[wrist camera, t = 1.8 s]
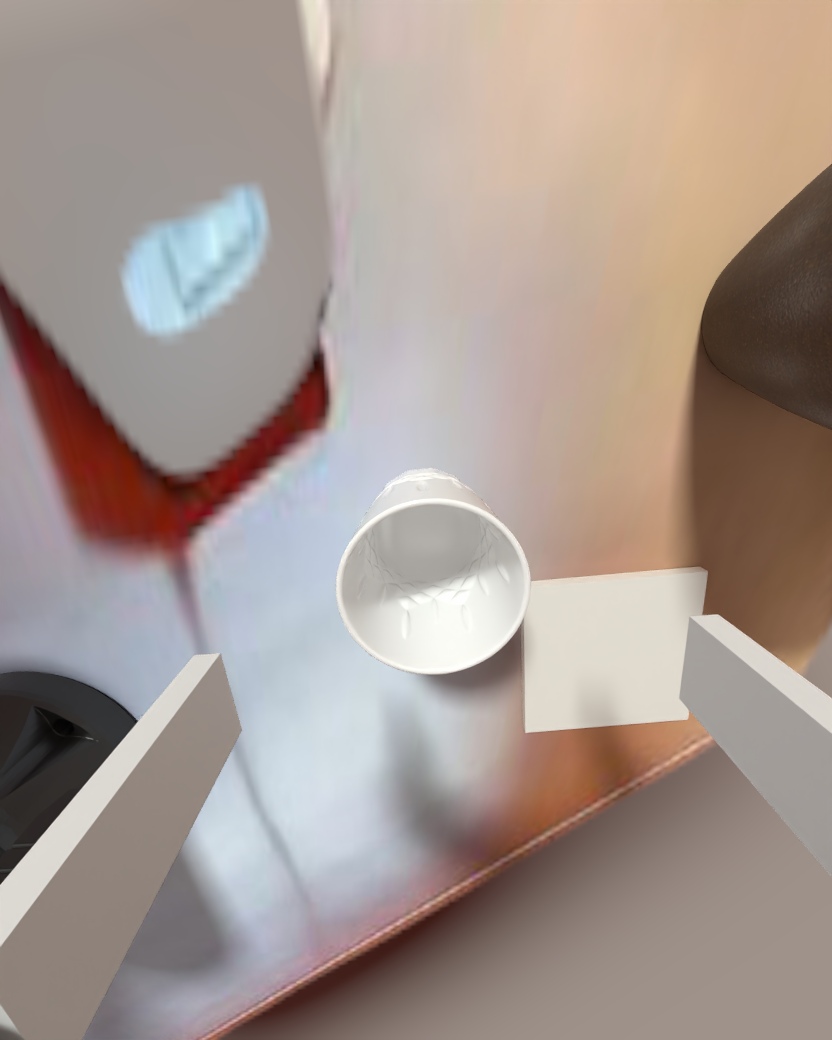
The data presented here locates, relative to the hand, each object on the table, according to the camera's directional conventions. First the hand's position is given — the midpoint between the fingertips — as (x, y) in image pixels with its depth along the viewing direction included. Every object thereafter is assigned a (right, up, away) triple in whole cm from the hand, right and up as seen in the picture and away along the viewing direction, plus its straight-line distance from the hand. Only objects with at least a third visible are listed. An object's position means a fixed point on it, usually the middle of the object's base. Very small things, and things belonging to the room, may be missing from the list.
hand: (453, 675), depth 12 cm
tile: (+12, -5, +17) cm, 22 cm away
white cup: (-1, +5, +15) cm, 15 cm away
